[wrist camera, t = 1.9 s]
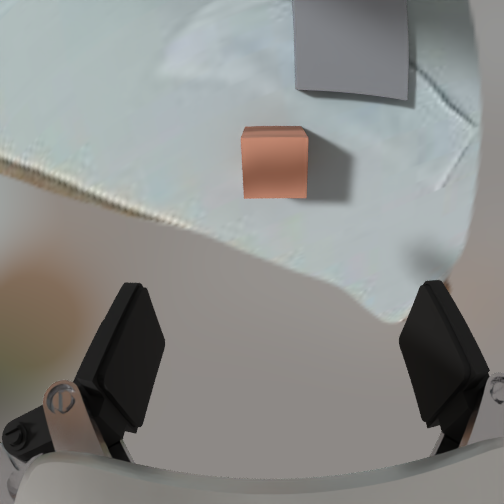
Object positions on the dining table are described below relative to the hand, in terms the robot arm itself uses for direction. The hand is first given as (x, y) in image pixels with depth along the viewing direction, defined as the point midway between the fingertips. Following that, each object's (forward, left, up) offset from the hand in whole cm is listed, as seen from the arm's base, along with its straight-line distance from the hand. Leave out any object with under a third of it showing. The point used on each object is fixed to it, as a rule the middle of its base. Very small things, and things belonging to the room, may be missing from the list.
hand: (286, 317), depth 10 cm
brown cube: (0, 0, -20) cm, 20 cm away
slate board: (-12, +7, -20) cm, 24 cm away
